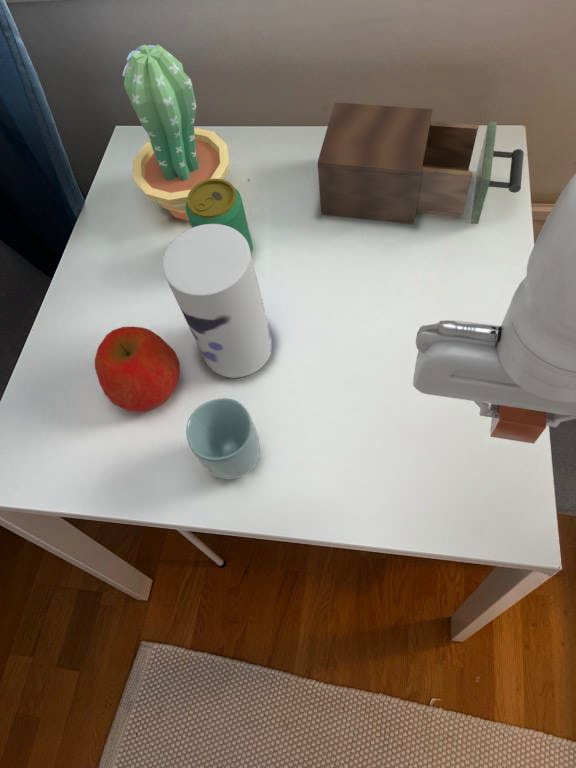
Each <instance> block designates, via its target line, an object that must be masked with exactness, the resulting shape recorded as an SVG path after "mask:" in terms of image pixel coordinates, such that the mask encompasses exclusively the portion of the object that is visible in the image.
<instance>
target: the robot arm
mask: <svg viewBox="0 0 576 768" xmlns="http://www.w3.org/2000/svg"><path fill="white" fill-rule="evenodd" d="M525 275H526V276H525V277H524V278H523V279H522V280H521V282H520V283H519V285H518V286H517V287H516V290H515V291H514V293H513V296H512V297H511V300H510V303H509V305H508V308H507V309H506V313H505V316H504V317H503V320H502V322H501V325H495V324H487V323H478V322H471V321H463V320H445V319H444V320H439V322H436V323H433V324H424V325H421V326H420V327H419V329H418V331H417V332H416V337H415V346H416V349H417V354H416V360H415V365H414V372H413V379H412V385H413V387H414V388H415V390H417V391H418V392H420V393H421V394H424V395H430V396H437V397H442V398H443V397H444V398H449V399H450V398H451V399H457V400H462V401H463V400H464V401H470V402H473V403H474V404H475V405H477V406H478V407H479V416H480V417H484V418H485V417H486V418H492V417H493V418H496V415H497V414H498V412H499V405H502V406H509V407H516V408H522V409H529V410H536V411H542V412H547V418H546V427H550V428H558V426H559V425H560V424H561V422H562V423H563V422H568V421H571V420H572V421H573V420H576V172H575V173H574V174H573V175H572V177H571V178H570V179H569V180H568V181H567V184H566V186H565V187H564V188H563V190H562V191H561V193H560V194H559V196H558V198H557V200H556V201H555V203H554V205H553V207H552V208H551V210H550V212H549V213H548V216H547V217H546V219H545V222H544V223H543V225H542V227H541V229H540V231H539V234H538V235H537V238H536V241H535V242H534V245H533V247H532V250H531V252H530V255H529V257H528V260H527V264H526V274H525Z"/></svg>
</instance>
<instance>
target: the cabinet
mask: <svg viewBox="0 0 576 768" xmlns="http://www.w3.org/2000/svg"><path fill="white" fill-rule="evenodd" d="M432 116H433V108H424V107H408V106H395V105H381V104H380V105H379V104H365V103H353V102H351V103H350V102H338V101H334V103H333V106H332V110H331V114H330V117H329V120H328V124H327V127H326V131H325V135H324V138H323V141H322V145H321V148H320V151H319V155H318V159H317V162H316V163H317V176H318V189H319V203H320V215H321V216H329V217H331V216H332V217H340V218H348V219H358V220H368V221H377V222H385V223H393V224H394V223H396V224H405V225H415V222H416V216H417V213H416V208H417V201H418V193H419V186H420V179H421V171H422V166H423V160H424V155H425V149H426V144H427V138H428V133H429V127H430V122H432V118H433V117H432Z"/></svg>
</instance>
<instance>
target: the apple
mask: <svg viewBox="0 0 576 768" xmlns="http://www.w3.org/2000/svg"><path fill="white" fill-rule="evenodd" d="M180 364H181V363H180V360H179V358H178V355H177V352H176V351H175V349H173V348H172V347H171V346H170V344H169V343H167V342H166V341H165V340H164V339H163V338H162V337H161V336H160V335H159V334H157V333H155V332H154V331H152V330H151V329H148V328H145V327H142V326H121V327H119V328H115V329H112V330H111V331H109V332H108V333H107V334H106V335H105V336H104V338H103V339H102V341H101V342H100V344H99V345H98V346H97V350H96V354H95V358H94V369H95V373H96V377H97V379H98V383H99V385H100V388H101V390H102V392H103V394H104V396H106V398H108V400H109V401H110V402H111V403H112V404H113V405H114V406H117V407H119V408H120V409H123V410H125V411H128V412H135V413H136V412H139V413H145V412H148V411H151V410H154V409H156V408H158V407H161V406H162V405H163V404H164V403H166V401H167V400H168V399H169V398H170V397H171V396H172V395H173V394H174V393H175V391H176V389H177V388H178V387H177V386H178V383H179V382H178V381H179V377H180V373H181V366H180Z"/></svg>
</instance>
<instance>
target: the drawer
mask: <svg viewBox="0 0 576 768" xmlns="http://www.w3.org/2000/svg"><path fill="white" fill-rule="evenodd" d="M497 125H498V122H497V121H490V120H489V121H488V122H487V126H486V129H485V134H484V138H483V141H482V145H481V146H482V147H481V150H480V155H479V159H478V162H477V166H476V173H475V179H474V180H475V182H474V187H473V188H474V189H473V195H472V196H473V197H472V205H471V213H470V220H469V224H473V225H479V223H480V219H481V215H482V211H483V208H484V204H485V201H486V197H487V193H488V190H489V188H498V189H499V188H500V189H508V191H509V192H510V193H514V194H515V193H518V192H520V191H521V189H522V177H523V167H524V166H523V165H524V163H523V162H524V154H525V153H524V150H522V149H520V148H517V149H514V150H513V151H512V152H511V151H501V150H499V151H498V150H495V142H496V135H497V134H496V133H497ZM478 130H479V124H469V123H458V122H457V123H456V122H444V121H443V122H441V121H431V122H430V127H429V133H428V138H427V144H426V149H425V155H424V160H423V166H422V171H421V179H420V186H419V193H418V201H417V208H416V214H426V215H435V216H436V215H437V216H443V217H444V216H445V217H455V218H462V217H463V214H464V210H465V206H466V201H467V198H468V193H469V189H470V185H471V180H472V176H473V171H472V170H470V166H471V161H472V156H473V152H474V148H475V143H476V140H477V136H478V135H477V134H478ZM494 158H505V159H510V168H509V169H510V171H509V181H508V182H505V181H497V180H495V181H494V180H491V178H492V169H493V161H494Z"/></svg>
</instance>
